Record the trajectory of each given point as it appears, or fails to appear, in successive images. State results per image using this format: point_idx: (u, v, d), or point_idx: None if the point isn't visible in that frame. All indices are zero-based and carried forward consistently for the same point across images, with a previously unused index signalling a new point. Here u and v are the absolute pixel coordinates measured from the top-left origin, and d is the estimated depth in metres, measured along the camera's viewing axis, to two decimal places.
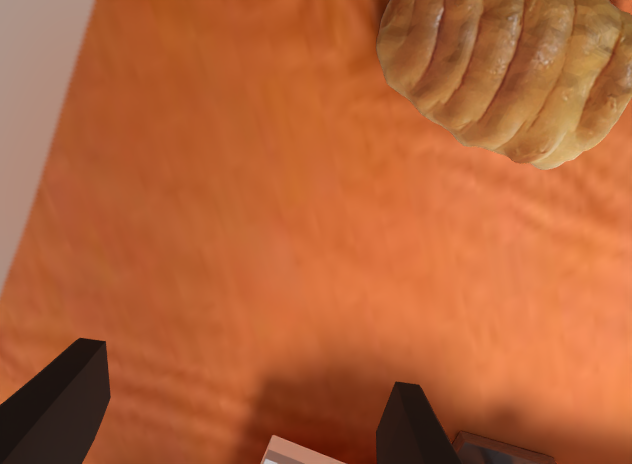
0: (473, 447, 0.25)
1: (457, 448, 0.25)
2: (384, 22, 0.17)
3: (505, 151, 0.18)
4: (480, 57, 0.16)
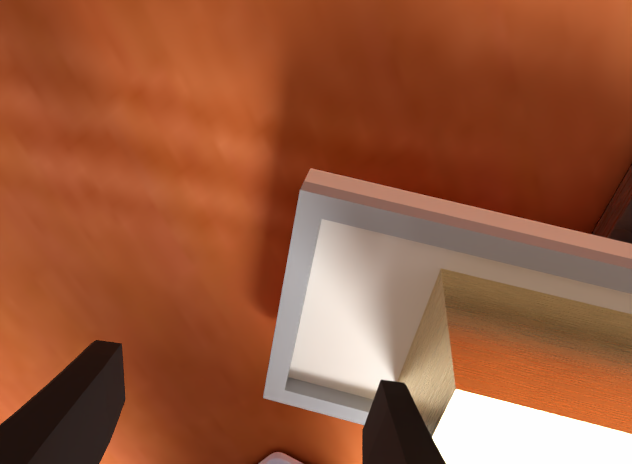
0: None
1: None
2: None
3: None
4: None
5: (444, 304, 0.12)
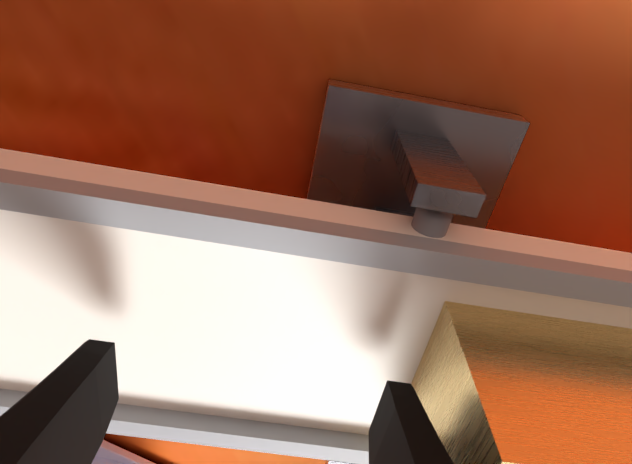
0: (348, 96, 0.13)
1: (323, 109, 0.13)
2: None
3: None
4: None
5: (460, 347, 0.11)
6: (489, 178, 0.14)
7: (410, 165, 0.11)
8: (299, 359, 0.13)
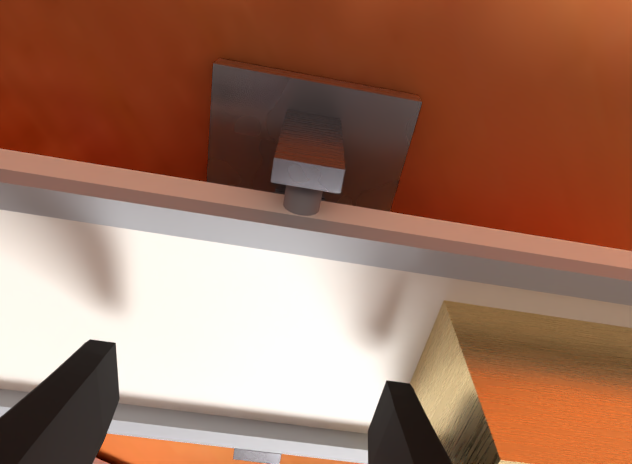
0: (234, 74, 0.13)
1: None
2: None
3: None
4: None
5: (458, 346, 0.11)
6: (387, 159, 0.14)
7: (278, 141, 0.11)
8: (187, 343, 0.13)
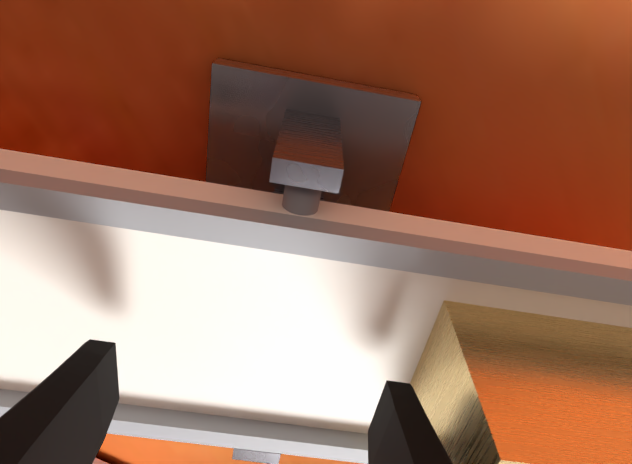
0: (233, 74, 0.13)
1: None
2: None
3: None
4: None
5: (459, 346, 0.11)
6: (386, 159, 0.14)
7: (277, 141, 0.11)
8: (186, 343, 0.13)
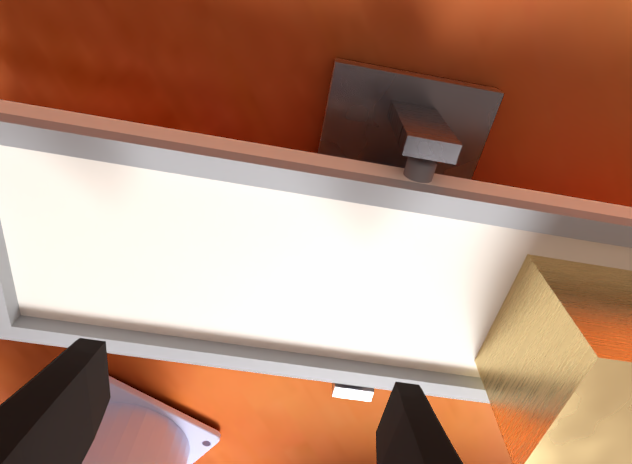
0: (352, 71, 0.16)
1: (331, 82, 0.16)
2: None
3: None
4: None
5: (547, 286, 0.14)
6: (471, 142, 0.17)
7: (402, 124, 0.14)
8: (311, 292, 0.16)
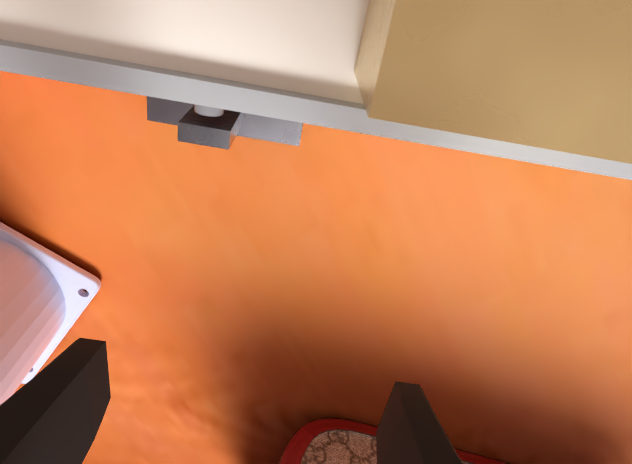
0: None
1: None
2: None
3: None
4: None
5: None
6: None
7: None
8: None
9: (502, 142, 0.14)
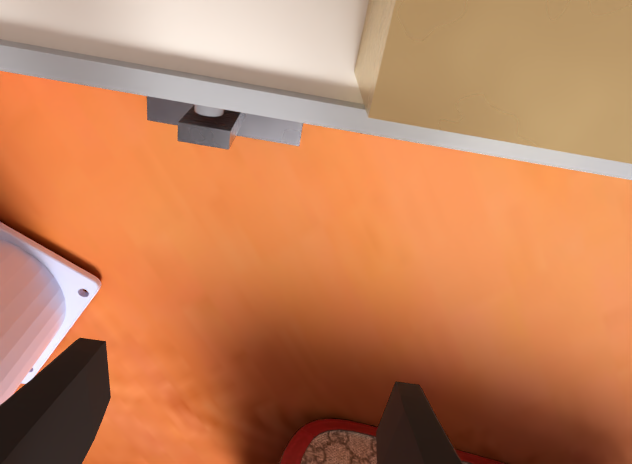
0: None
1: None
2: None
3: None
4: None
5: None
6: None
7: None
8: None
9: (502, 142, 0.14)
